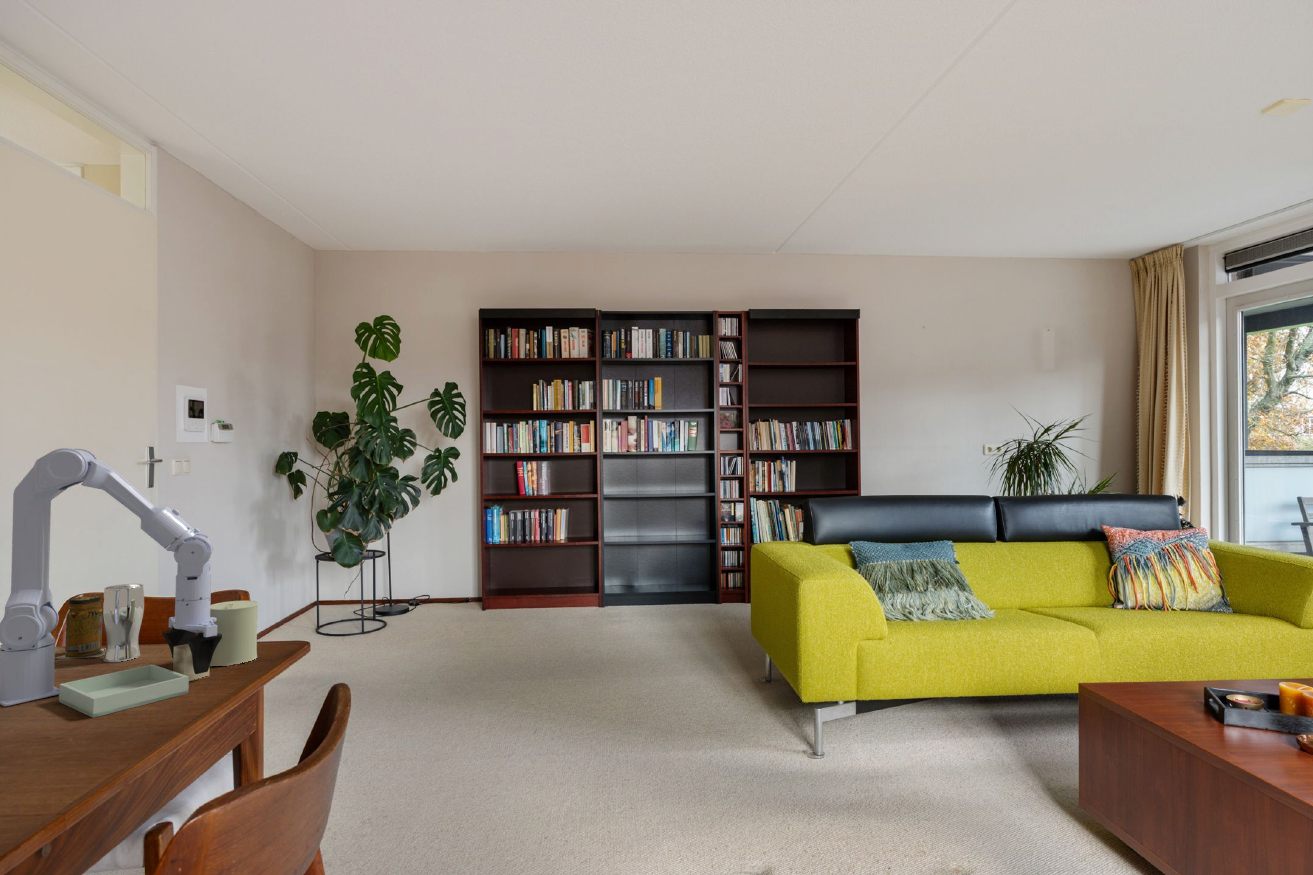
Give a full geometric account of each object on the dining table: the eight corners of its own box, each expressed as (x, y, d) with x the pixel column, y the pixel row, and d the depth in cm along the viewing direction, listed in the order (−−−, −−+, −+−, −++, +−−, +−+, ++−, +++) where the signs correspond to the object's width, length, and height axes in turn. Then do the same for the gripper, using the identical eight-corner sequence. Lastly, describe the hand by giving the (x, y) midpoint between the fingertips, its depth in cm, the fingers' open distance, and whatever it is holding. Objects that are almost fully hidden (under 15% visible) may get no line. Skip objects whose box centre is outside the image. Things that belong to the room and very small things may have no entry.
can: (200, 668, 139) (202, 608, 140) (211, 656, 148) (212, 599, 148) (253, 664, 143) (254, 605, 143) (260, 652, 151) (261, 596, 152)
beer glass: (125, 663, 143) (127, 589, 144) (92, 663, 143) (94, 589, 144) (150, 653, 150) (152, 583, 151) (118, 653, 150) (120, 583, 151)
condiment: (78, 650, 153) (80, 594, 153) (119, 649, 154) (121, 594, 154) (53, 659, 146) (54, 601, 146) (96, 658, 147) (98, 601, 147)
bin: (58, 701, 120) (59, 684, 120) (151, 680, 132) (152, 664, 132) (93, 717, 113) (93, 698, 113) (188, 693, 125) (188, 676, 125)
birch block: (172, 678, 134) (173, 646, 134) (197, 672, 137) (198, 641, 137) (184, 682, 131) (185, 649, 131) (209, 676, 135) (210, 644, 135)
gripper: (234, 598, 134) (233, 670, 134) (196, 591, 142) (195, 658, 142) (194, 605, 128) (192, 679, 128) (157, 596, 136) (155, 667, 136)
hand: (191, 669), depth 134 cm, fingers open, 7 cm apart
